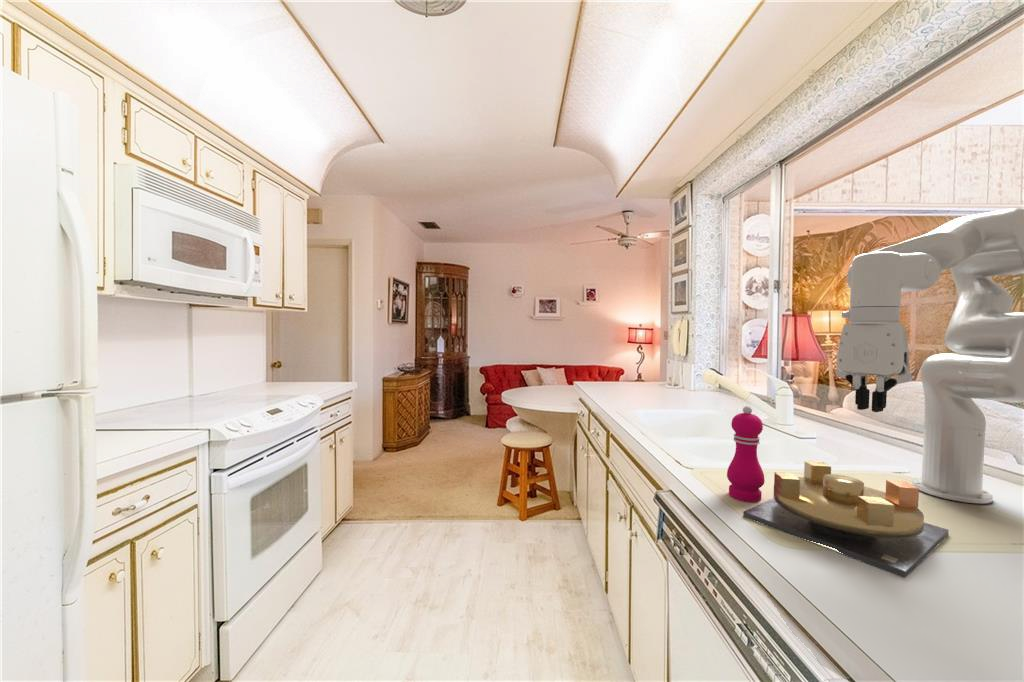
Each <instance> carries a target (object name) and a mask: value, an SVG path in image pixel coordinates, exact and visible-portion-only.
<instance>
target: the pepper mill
mask: <svg viewBox="0 0 1024 682" xmlns="http://www.w3.org/2000/svg"><path fill="white" fill-rule="evenodd" d="M752 412H753V409H752V407H751V406H748V405H745V406H744V407H743V408H742V412H741V413H738V414H735V415H734V416H733V418H732V419H731V429H732V430H733V431H734V433H733V441H734V442H735V452H734V455H733V458H732V460H731V462H730V463H729V465H728V468H727V472H726V478H727V480H728V481H729V483H731V484H730V485H728V495H729V497H731V498H733V499H735V500H737V501H741V502H745V503H746V502H747V503H758V502H760V501H762V495H763V493H762V490H761V488H762V487H763V486H764V485H765V474H764V471H763V469H762V466H761V464H760V461H759V458H758V452H757V451H758V445H760V444H761V443H760V439H761V438H760V436H759V435H761V433H762V432H763V429H764V426H763V424H764V423H763V421H762V419H761V418H760V417H759V416H758V415H755V414H754V413H752Z"/></svg>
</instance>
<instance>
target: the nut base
mask: <svg viewBox="0 0 1024 682" xmlns="http://www.w3.org/2000/svg"><path fill="white" fill-rule="evenodd" d="M742 513H743V517H744V518H746V519H749V520H751V519H752V520H751V521H754V520H755V521H754V522H757V521H758V522H757V523H759V522H760V523H759V524H762V523H763V524H762V525H764V526H767V525H768V526H767V527H770V528H772V527H773V529H775V530H778V531H780V530H781V531H780V532H783V531H784V533H785V534H788V533H789V534H788V535H790V536H793V535H794V536H793V537H796V536H797V537H796V538H799V537H800V538H799V539H801V538H803V539H802V540H804V539H806V540H805V541H807V540H809V541H813V542H816V543H820V544H823V545H826V546H829V547H832V548H835V549H837V550H838V551H839V552H841V553H843V554H845V555H844V556H846V555H848V556H847V557H849V556H850V557H849V558H851V557H853V558H852V559H854V558H855V559H854V560H856V559H857V560H856V561H859V560H860V561H859V562H862V563H865V564H867V565H870V566H873V567H874V568H878V569H880V570H882V571H885V572H889V573H891V574H893V575H896V576H899V577H901V578H904V579H905V578H907V577H908V576H909V575H910V574H911V573H912V572H913V571H914V570H916V568H917V567H918V566H919V565H920V564H921V563H922V562H923V561H925V559H926V558H927V557H928V556H929V555H930V554H931V553H932V552H933V551H934V550H935V549H936V548H937V547H938V546H939V545H940V544H941V543H942V542H943V541H944V540H945V539H946V538H947V537H948V536H949V529H947V528H945V527H944V528H943V527H940V526H938V525H933V524H930V523H926V522H924V528H923V532H922V533H921V534H919V535H917V536H913V537H908V538H882V537H873V536H866V535H859V534H854V533H849V532H845V531H841V530H837V529H833V528H830V527H826V526H823V525H820V524H817V523H814V522H811V521H809V520H806V519H804V518H801V517H799V516H797V515H795V514H793V513H791V512H789V511H787V510H786V509H784V508H783V507H781V506H780V505H779V504H778V503H777V502H776V501H775V499H774V497H773V498H771V499H768V500H766V501H764V502H762V503H759V504H757V505H754V506H753V507H750V508H748V509H746V510H744V511H743V512H742ZM944 538H945V539H944ZM943 539H944V540H943ZM942 540H943V541H942ZM809 541H808V542H809ZM941 541H942V542H941ZM940 542H941V543H940ZM939 543H940V544H939ZM938 544H939V545H938ZM937 545H938V546H937ZM936 546H937V547H936ZM935 547H936V548H935ZM934 548H935V549H934ZM933 549H934V550H933ZM932 550H933V551H932ZM931 551H932V552H931ZM930 552H931V553H930ZM841 553H840V554H841ZM929 553H930V554H929ZM843 554H842V555H843ZM928 554H929V555H928ZM927 555H928V556H927Z"/></svg>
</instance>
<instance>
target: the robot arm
mask: <svg viewBox="0 0 1024 682" xmlns="http://www.w3.org/2000/svg"><path fill="white" fill-rule="evenodd" d="M946 270H949V271H950V273H951V277H952V280H953V283H954V285H955V288H956V291H957V295H958V299H957V303H956V306H955V307H954V310H953V313H952V316H951V318H950V320H949V323H948V325H947V328H946V331H945V334H944V345H945V346H946V347H947V348H948V349H949V351H953V352H949V353H948V352H943V353H938V354H933V355H931V356H929V357H927V358H926V359H924V361H923V362H922V364H921V367H920V379H921V383H922V388H923V396H924V421H923V425H924V426H923V442H922V443H923V444H922V461H921V464H922V465H921V477H916V478H914V479H912V484H911V485H913V486H915V487H917V488H919V492H920V491H921V492H923V493H925V494H928V495H930V496H934V497H937V498H941V499H945V500H950V501H951V500H952V501H956V502H959V503H967V504H979V505H980V504H989V503H992V502H993V494H992V493H990V492H988V491H987V490H984V489H983V484H984V483H983V479H984V459H985V445H986V444H985V443H986V425H987V424H986V423H987V421H986V417H985V415H984V413H983V411H982V410H981V408H980V407H979V406H978V405H977V404H976V402H975V401H974V399H978V400H979V399H980V400H987V401H995V402H1003V403H1004V402H1006V403H1015V404H1016V403H1017V404H1019V403H1024V312H1011V310H1012V309H1011V308H1012V307H1013V302H1014V301H1013V300H1014V298H1013V296H1012V295H1011V293H1009V291H1008V290H1007V289H1006V288H1004V286H1002V285H1001V284H999V283H997V282H996V281H994V280H993V279H992V278H991V277H997V276H998V277H999V276H1009V275H1011V276H1012V275H1022V274H1024V208H1021V207H1019V208H1018V207H1013V208H1007V209H999V210H995V211H990V212H983V213H977V214H972V215H966V216H961V217H957V218H954V219H953V220H950V221H948V222H946V223H944V224H942V225H941V226H939V227H937V228H935V229H933V230H931V231H929V232H928V233H925V234H923V235H920V236H917V237H913V238H911V239H907V240H904V241H902V242H899V243H896V244H892V245H888V246H886V247H882V248H879V249H876V250H874V251H871V252H866V253H861V254H858V255H856V256H855V257H854V258H853V259H852V262H851V265H850V266H849V268H848V270H847V272H846V273H847V274H846V282H847V285H848V287H849V288H850V293H849V295H850V296H849V297H850V298H849V308H848V310H847V311H842V313H841V317H842V318H843V319H847V321H848V322H849V323H843V326H842V330H841V332H840V337H839V341H838V347H837V348H838V349H837V354H836V355H837V356H836V370H835V372H834V374H835V375H836V376H837V377H839V378H842V379H845V380H846V381H848V383H849V384H851V385H852V388H853V389H855V395H854V396H855V398H854V399H855V400H854V403H855V405H857V406H856V409H857V410H859V411H863V410H868V409H869V408H870V389H869V388H868V386H867V383H868V382H867V381H868V380H867V376H876V381H875V383H876V384H875V388H874V389H875V390H874V391H872V392H871V393H872V394H871V395H872V396H871V412H872V413H881V412H883V411H884V409H886V408H887V397H888V396H887V395H888V394H887V393H888V391H890V390H891V389H892V388H894V387H896V386H897V385H901V384H906V383H910V382H913V376H912V374H911V372H910V370H909V365H910V364H909V362H910V360H909V359H910V358H909V344H908V337H907V332H906V327H905V324H904V323H900V322H901V302H902V293H911V292H920V291H924V290H927V289H930V288H931V287H933V286H934V285H936V284H937V282H938V281H939V280H940V278H941V275H942V272H943V271H946ZM893 376H894V377H893ZM895 376H897V377H895ZM892 377H893V378H892Z"/></svg>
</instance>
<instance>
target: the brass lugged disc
mask: <svg viewBox="0 0 1024 682" xmlns="http://www.w3.org/2000/svg"><path fill="white" fill-rule="evenodd" d="M803 467H804V469H803V471H804V472H803V476H799V477H798V476H796V475H794V474H793V473H792V472H779V471H778V472H777V471H774V473H773V474H774V479H773V480H774V481H773V483H774V484H773V496H772V497H773V498H774V499H775V501H776V502H777V503H778V504H779V505H780V506H781V507H783V508H784V509H786V510H787V511H789V512H791V513H793V514H795V515H797V516H799V517H801V518H804V519H806V520H809V521H811V522H814V523H817V524H820V525H823V526H826V527H830V528H833V529H837V530H841V531H845V532H849V533H854V534H859V535H866V536H873V537H882V538H908V537H913V536H917V535H919V534H921V533H922V532H923V528H924V523H925V518H924V517H925V515H924V513H923V512H922V511H921V509H919V497H920V490H919V488H917V487H915V486H913V485H912V484H911V483H909V482H908V481H905V480H894V479H892V480H891V479H886V480H885V491H881V490H878V489H876V488H873V487H869V486H866V485H865V483H864V482H863V481H862V480H860V479H858V478H855V477H851V476H848V475H842V474H837V473H836V474H832V466H831V465H829V464H827V463H826V462H824V461H817V460H816V461H812V460H804V466H803Z"/></svg>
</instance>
